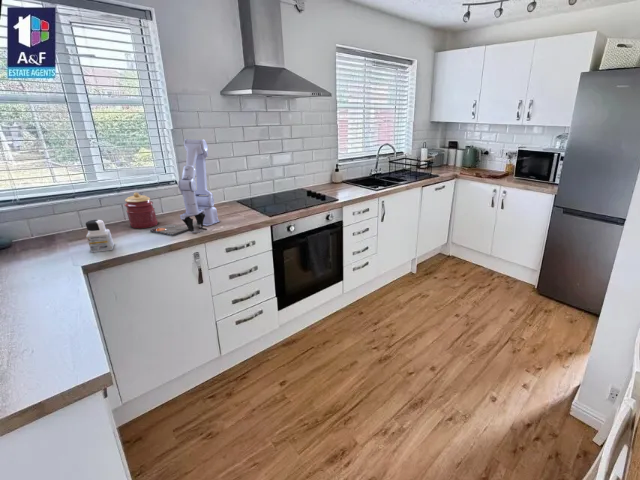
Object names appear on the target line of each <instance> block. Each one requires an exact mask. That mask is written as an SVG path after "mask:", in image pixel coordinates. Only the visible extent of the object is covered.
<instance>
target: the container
mask: <svg viewBox="0 0 640 480" xmlns="http://www.w3.org/2000/svg"><path fill="white" fill-rule="evenodd" d="M85 226H86V230H87V234H86V236H85V238H86V241H87V243H88V247H89V249H90V252H91V253H96V252H97V253H99V252H106V251H107V252H108V251H113V248H114V246H115V243H114V239H113V236H112V234H111V231H110V229H109V228H107V227H106V225H105V221H103V220H102V219H90V220H88V221H86V222H85Z"/></svg>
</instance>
